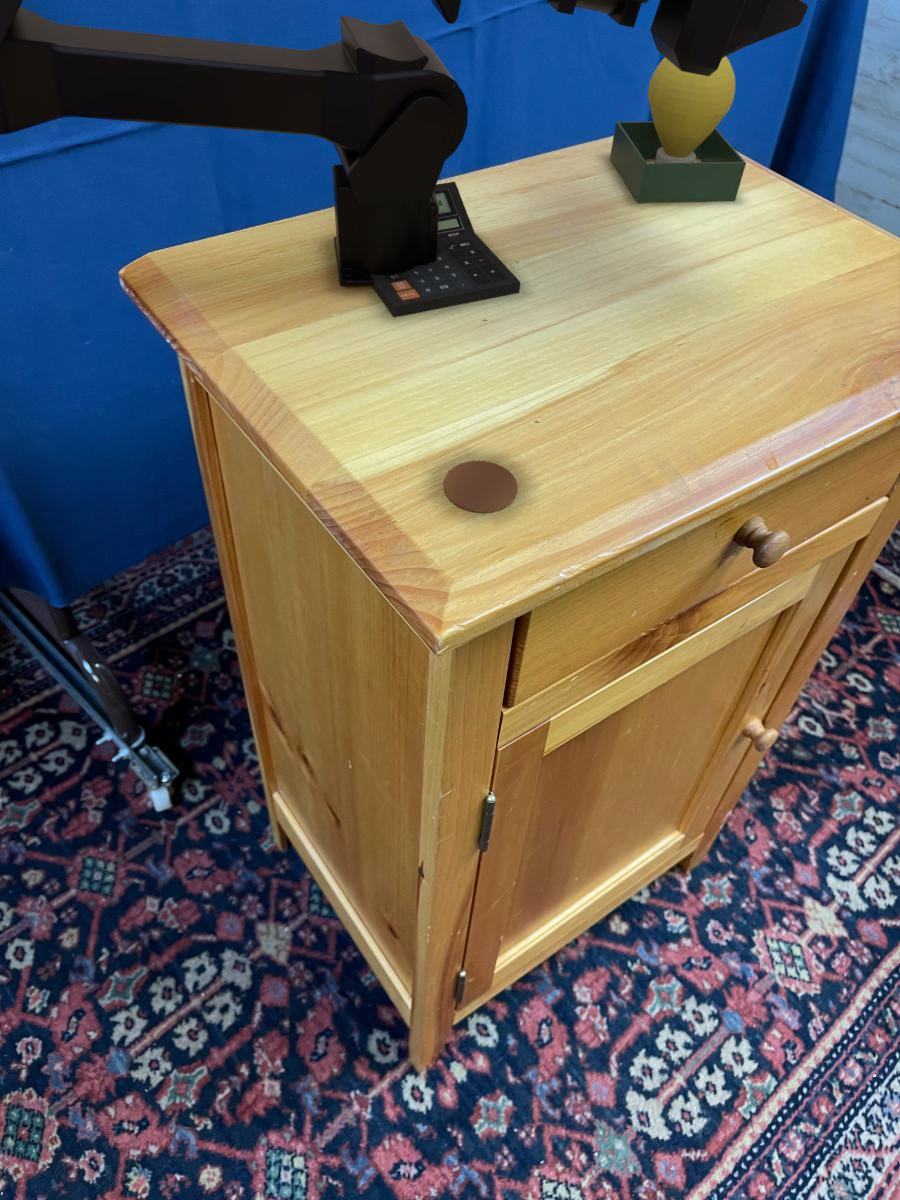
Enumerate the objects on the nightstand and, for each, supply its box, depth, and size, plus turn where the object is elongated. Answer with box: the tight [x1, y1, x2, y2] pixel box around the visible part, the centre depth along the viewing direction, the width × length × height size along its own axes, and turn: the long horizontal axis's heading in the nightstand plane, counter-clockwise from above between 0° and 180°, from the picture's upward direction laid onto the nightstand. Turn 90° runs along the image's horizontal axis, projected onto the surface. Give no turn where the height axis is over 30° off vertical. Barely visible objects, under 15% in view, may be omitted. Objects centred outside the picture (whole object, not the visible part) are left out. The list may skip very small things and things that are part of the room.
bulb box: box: [609, 120, 747, 204], centre depth 72 cm, size 8×8×3 cm
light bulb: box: [647, 56, 736, 163], centre depth 69 cm, size 7×7×10 cm
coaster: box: [443, 460, 519, 513], centre depth 47 cm, size 4×4×1 cm
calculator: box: [333, 181, 521, 318], centre depth 61 cm, size 9×12×3 cm
